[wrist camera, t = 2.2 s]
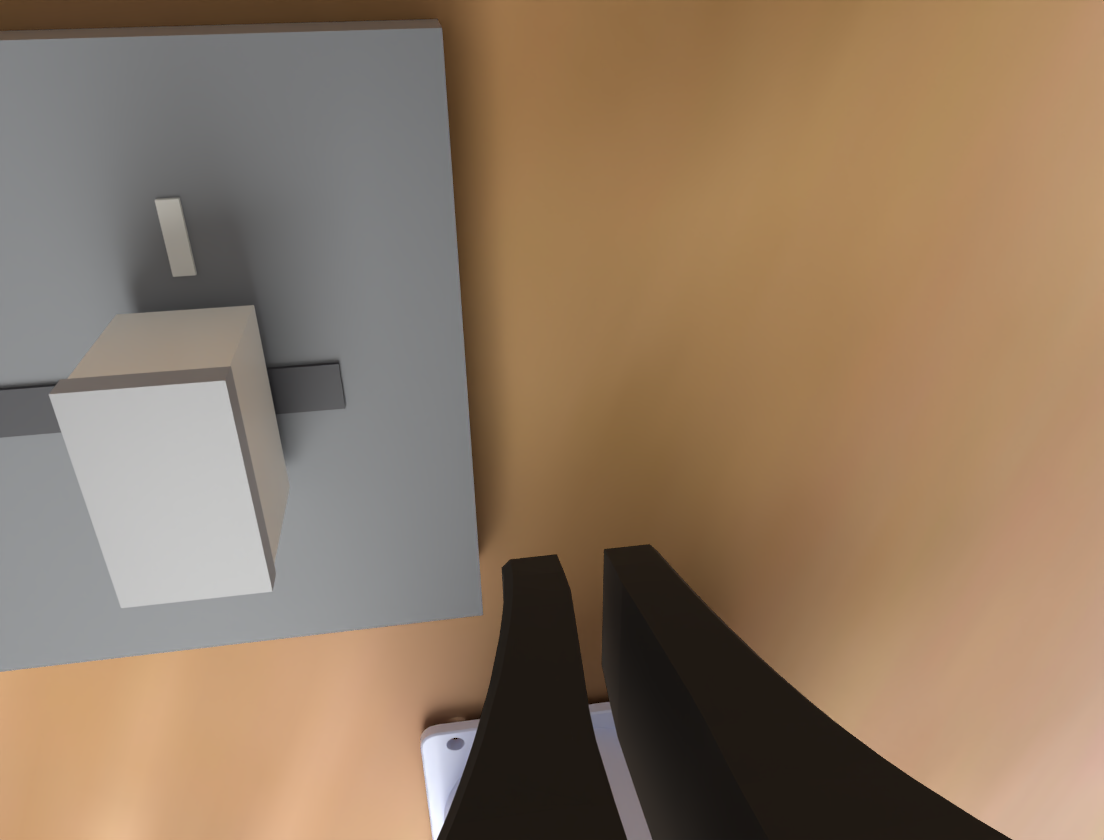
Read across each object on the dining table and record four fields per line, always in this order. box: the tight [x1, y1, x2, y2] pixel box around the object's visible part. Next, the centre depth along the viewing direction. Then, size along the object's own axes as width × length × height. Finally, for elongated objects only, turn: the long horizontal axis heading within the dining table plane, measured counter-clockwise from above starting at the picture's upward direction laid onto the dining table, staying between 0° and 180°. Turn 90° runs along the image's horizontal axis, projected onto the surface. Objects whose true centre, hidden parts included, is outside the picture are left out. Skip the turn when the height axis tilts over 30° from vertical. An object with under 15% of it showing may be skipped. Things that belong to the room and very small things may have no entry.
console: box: [0, 19, 483, 672], centre depth 17 cm, size 18×13×2 cm
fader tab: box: [49, 305, 290, 608], centre depth 15 cm, size 2×4×3 cm, turn 1°
